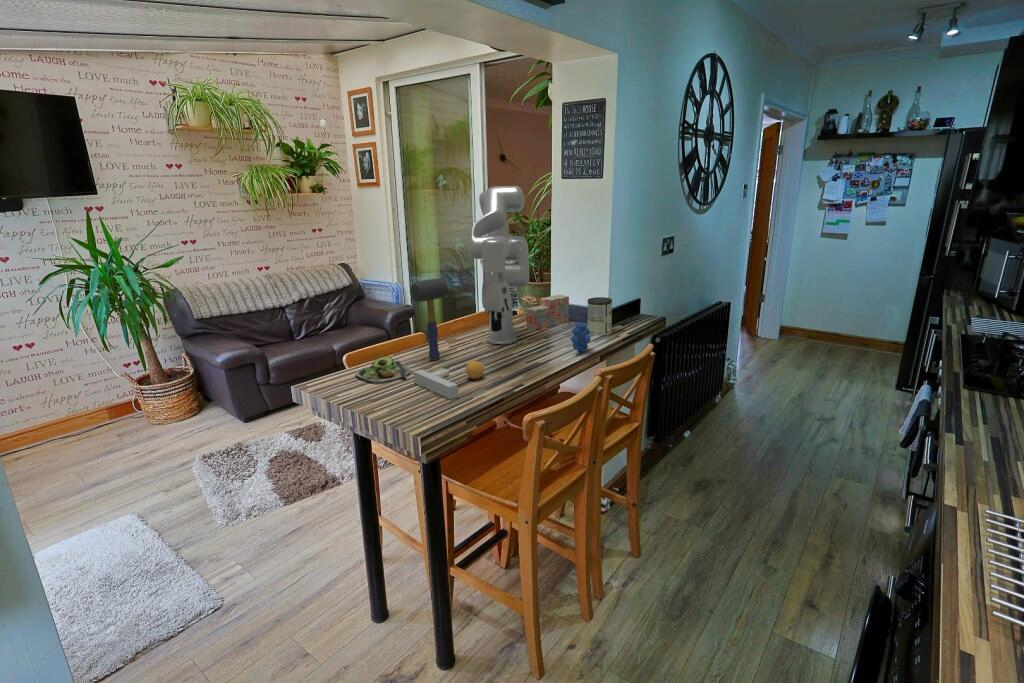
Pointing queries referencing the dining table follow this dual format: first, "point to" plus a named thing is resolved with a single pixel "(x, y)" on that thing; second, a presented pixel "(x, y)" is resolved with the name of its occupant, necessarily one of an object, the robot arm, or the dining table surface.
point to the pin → (442, 373)
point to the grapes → (580, 337)
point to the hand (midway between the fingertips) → (496, 330)
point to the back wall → (436, 384)
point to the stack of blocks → (548, 313)
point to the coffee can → (599, 315)
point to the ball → (474, 369)
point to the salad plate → (383, 370)
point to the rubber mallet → (430, 308)
